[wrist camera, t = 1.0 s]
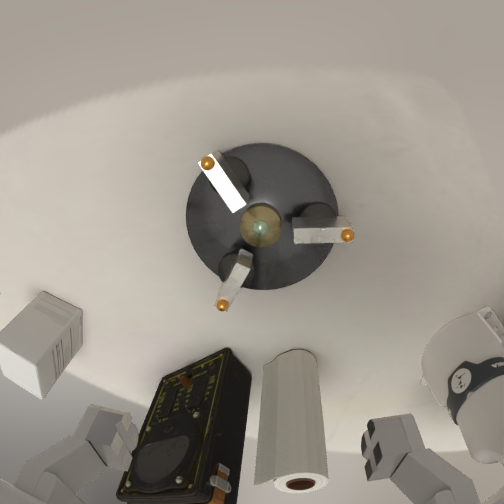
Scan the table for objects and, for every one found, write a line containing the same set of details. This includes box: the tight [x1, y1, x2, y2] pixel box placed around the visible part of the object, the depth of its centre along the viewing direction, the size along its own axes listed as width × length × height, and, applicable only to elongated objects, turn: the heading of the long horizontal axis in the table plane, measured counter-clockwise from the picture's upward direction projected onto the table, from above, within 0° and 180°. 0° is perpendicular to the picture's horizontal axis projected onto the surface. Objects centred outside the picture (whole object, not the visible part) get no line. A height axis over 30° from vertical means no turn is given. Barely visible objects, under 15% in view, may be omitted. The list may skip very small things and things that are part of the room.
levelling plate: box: [186, 143, 338, 290], centre depth 36 cm, size 18×18×4 cm
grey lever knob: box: [198, 150, 250, 213], centre depth 32 cm, size 6×4×6 cm
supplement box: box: [0, 291, 82, 400], centre depth 41 cm, size 9×9×15 cm
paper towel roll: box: [254, 350, 328, 493], centre depth 37 cm, size 7×6×21 cm
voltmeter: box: [116, 349, 252, 504], centre depth 38 cm, size 16×9×25 cm, turn 125°
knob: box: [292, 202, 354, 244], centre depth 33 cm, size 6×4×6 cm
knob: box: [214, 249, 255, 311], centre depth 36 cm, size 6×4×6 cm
